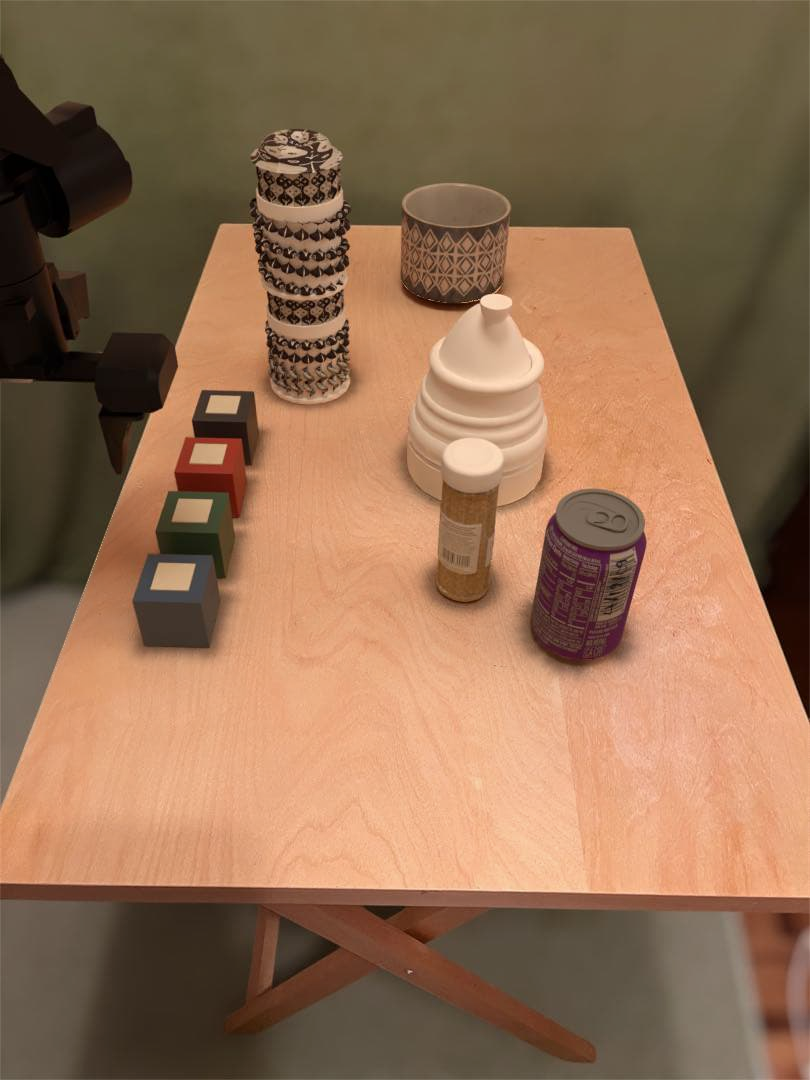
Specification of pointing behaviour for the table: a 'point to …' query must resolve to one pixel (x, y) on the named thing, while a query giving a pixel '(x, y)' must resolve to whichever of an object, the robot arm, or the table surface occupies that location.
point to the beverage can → (588, 573)
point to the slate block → (177, 600)
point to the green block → (197, 526)
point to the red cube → (213, 468)
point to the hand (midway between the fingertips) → (57, 469)
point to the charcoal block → (228, 418)
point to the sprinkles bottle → (468, 517)
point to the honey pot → (481, 400)
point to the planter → (454, 241)
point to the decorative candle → (303, 264)
